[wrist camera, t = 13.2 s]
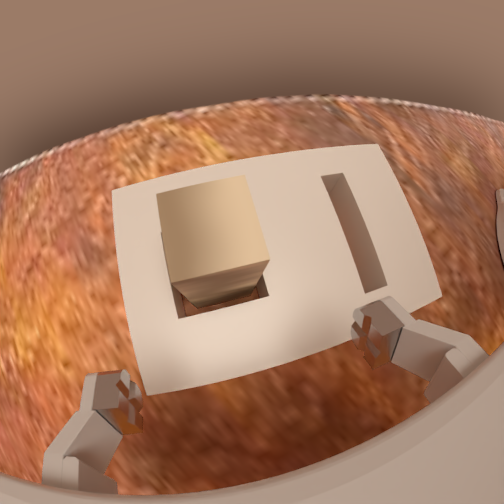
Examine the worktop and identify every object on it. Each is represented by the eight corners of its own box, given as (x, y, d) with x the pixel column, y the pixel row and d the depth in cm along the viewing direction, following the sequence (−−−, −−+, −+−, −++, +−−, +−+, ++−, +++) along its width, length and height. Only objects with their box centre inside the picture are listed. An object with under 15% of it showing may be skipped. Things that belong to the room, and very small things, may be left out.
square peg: (236, 245, 22) (244, 174, 12) (249, 295, 20) (270, 259, 11) (186, 257, 21) (155, 193, 11) (197, 308, 20) (171, 282, 10)
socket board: (360, 167, 25) (377, 143, 21) (414, 303, 21) (442, 296, 18) (128, 213, 22) (111, 190, 18) (161, 385, 18) (146, 395, 14)
